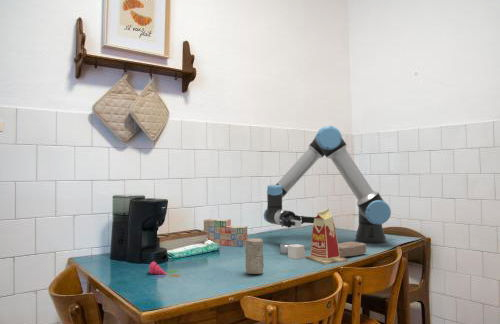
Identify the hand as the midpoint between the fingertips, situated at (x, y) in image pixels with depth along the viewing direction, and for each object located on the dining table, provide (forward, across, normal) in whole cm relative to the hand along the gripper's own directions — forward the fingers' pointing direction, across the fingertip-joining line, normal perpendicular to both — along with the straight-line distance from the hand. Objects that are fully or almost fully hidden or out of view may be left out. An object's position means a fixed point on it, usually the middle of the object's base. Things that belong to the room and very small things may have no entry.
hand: (313, 223), depth 161 cm
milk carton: (+8, +1, -13) cm, 15 cm away
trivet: (+9, 0, -14) cm, 16 cm away
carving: (+13, +36, -14) cm, 41 cm away
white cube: (-1, +9, -14) cm, 16 cm away
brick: (+7, -12, -13) cm, 19 cm away
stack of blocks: (-42, +22, -14) cm, 49 cm away
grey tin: (-9, +8, -14) cm, 18 cm away
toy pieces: (-1, +64, -14) cm, 66 cm away
